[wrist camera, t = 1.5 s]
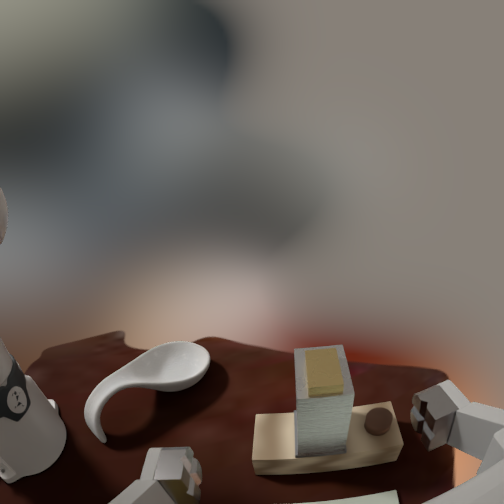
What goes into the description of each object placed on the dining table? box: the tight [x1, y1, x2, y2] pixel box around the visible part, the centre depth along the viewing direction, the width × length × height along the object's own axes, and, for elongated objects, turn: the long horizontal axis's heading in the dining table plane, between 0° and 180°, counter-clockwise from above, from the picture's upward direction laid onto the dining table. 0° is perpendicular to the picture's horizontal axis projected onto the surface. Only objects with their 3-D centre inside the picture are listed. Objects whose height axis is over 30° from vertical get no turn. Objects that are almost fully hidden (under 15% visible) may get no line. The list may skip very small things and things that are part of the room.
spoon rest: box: [84, 341, 210, 443], centre depth 43 cm, size 24×12×7 cm, turn 144°
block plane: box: [252, 401, 403, 475], centre depth 32 cm, size 17×7×6 cm, turn 86°
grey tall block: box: [294, 345, 354, 456], centre depth 29 cm, size 5×7×11 cm
